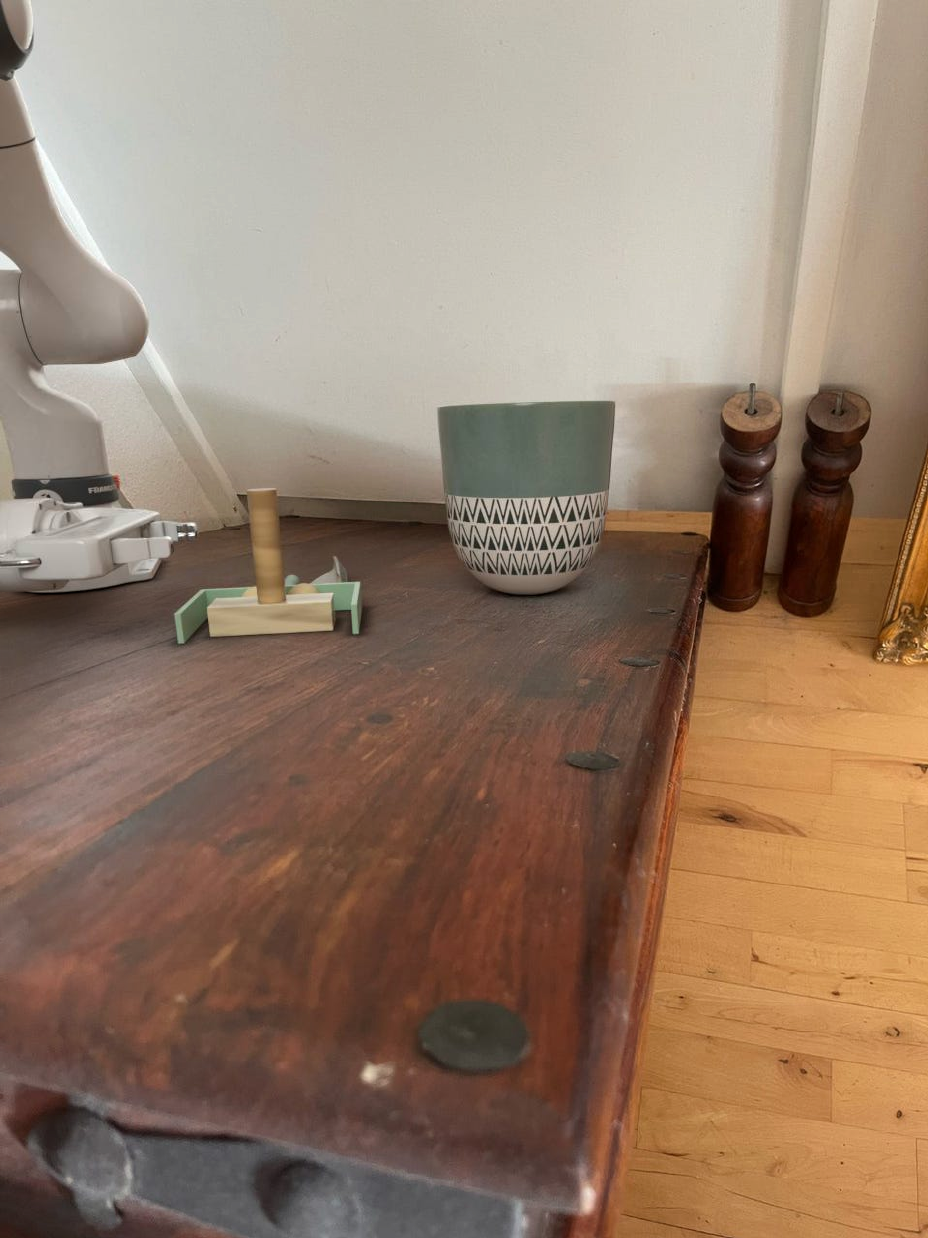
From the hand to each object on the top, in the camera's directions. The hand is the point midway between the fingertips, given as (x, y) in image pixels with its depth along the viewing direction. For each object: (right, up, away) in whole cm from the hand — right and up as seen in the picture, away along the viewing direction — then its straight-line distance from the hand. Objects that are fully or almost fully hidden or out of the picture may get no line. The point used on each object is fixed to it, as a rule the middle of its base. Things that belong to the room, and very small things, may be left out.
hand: (185, 538), depth 73 cm
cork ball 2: (+10, -6, +7) cm, 14 cm away
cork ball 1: (+5, -6, +6) cm, 10 cm away
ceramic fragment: (+12, -4, +20) cm, 23 cm away
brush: (+8, -9, +3) cm, 12 cm away
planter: (+35, -5, +16) cm, 39 cm away
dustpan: (+7, -7, +9) cm, 14 cm away
